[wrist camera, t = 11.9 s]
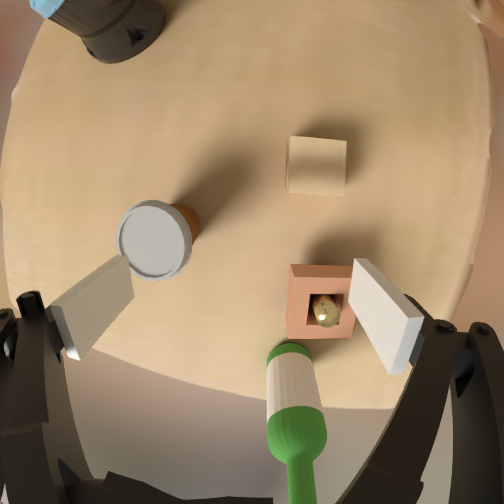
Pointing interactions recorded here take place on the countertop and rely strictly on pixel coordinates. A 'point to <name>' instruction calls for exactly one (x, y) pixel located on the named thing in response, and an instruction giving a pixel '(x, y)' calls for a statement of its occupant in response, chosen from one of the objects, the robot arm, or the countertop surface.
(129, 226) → the disposable coffee cup
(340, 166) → the stand
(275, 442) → the wine bottle
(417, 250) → the countertop surface
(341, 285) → the square frame block
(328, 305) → the light bulb
